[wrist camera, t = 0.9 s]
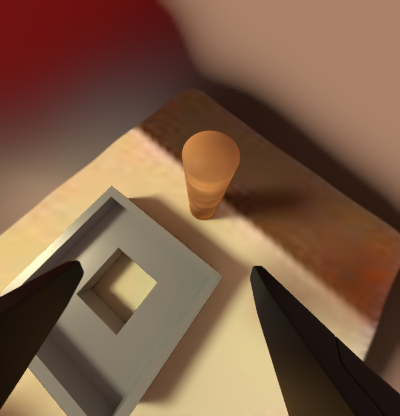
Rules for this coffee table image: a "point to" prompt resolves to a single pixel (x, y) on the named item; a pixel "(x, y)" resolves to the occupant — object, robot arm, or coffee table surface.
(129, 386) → the socket box
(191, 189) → the orange peg
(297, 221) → the coffee table surface
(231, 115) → the coffee table surface
